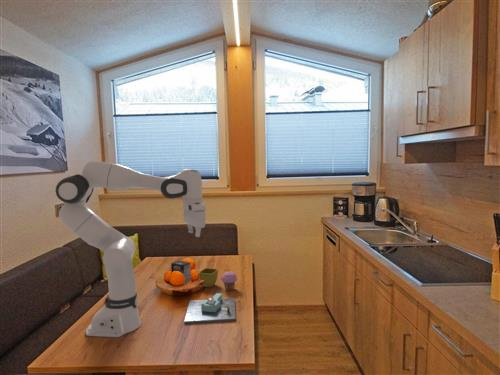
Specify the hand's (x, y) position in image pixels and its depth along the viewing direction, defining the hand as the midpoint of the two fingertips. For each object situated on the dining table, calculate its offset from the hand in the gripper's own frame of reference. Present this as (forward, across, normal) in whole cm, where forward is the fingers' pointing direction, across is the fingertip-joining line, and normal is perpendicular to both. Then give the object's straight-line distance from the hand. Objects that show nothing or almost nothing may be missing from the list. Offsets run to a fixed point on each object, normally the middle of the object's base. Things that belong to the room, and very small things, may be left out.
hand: (194, 234), depth 148 cm
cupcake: (+40, -22, +27) cm, 52 cm away
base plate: (+39, -2, +8) cm, 40 cm away
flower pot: (+39, -34, +19) cm, 55 cm away
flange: (+38, -5, +10) cm, 39 cm away
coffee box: (+39, -35, +3) cm, 53 cm away
